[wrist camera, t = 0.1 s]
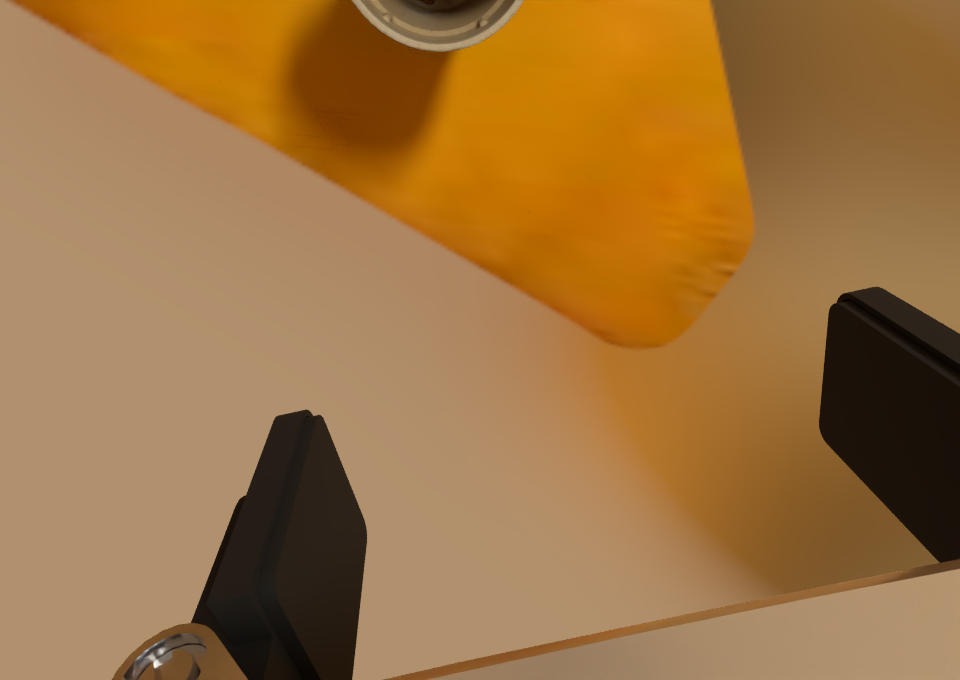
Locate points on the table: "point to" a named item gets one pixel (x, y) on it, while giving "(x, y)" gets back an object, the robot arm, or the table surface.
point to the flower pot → (438, 21)
